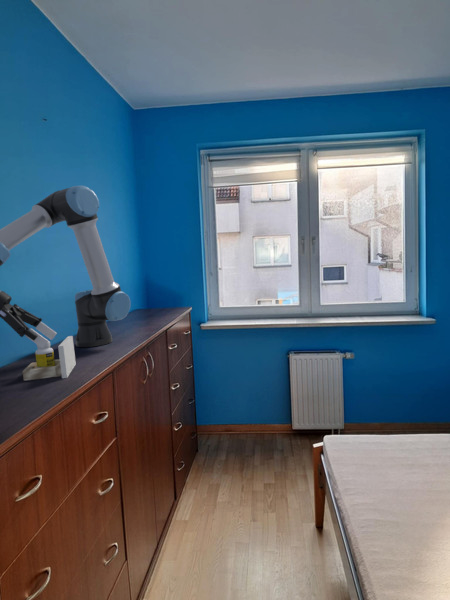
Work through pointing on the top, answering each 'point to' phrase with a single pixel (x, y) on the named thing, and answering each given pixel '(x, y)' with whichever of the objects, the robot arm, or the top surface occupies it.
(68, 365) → the white backstop wall
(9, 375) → the top surface
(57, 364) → the birch socket block
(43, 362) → the supplement bottle
